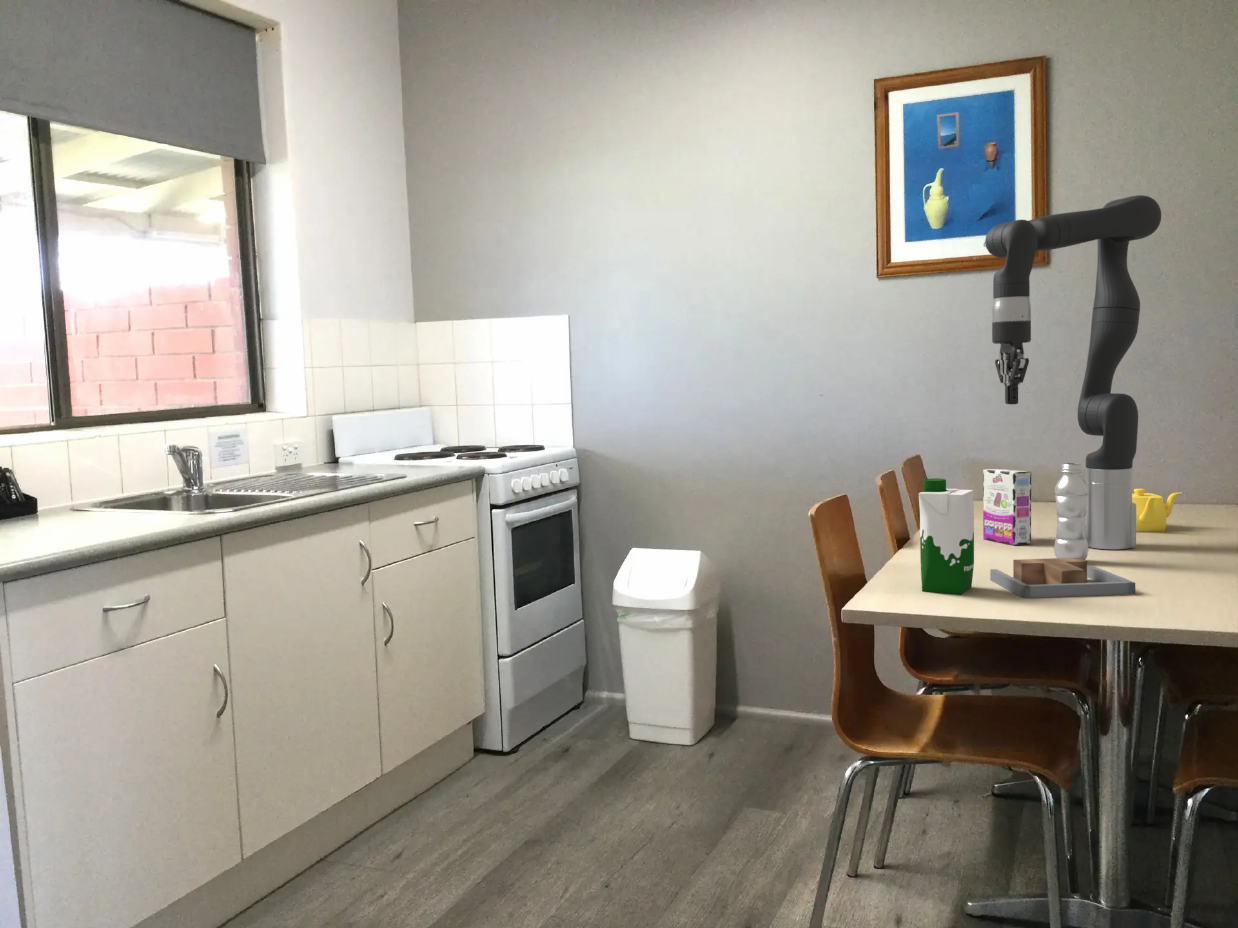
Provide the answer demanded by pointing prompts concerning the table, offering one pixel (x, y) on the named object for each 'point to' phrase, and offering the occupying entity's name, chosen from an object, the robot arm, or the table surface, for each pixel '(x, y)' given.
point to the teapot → (1151, 510)
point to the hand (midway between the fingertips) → (1011, 404)
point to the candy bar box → (1007, 506)
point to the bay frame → (1068, 585)
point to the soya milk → (946, 537)
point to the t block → (1050, 571)
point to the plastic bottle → (1071, 513)
